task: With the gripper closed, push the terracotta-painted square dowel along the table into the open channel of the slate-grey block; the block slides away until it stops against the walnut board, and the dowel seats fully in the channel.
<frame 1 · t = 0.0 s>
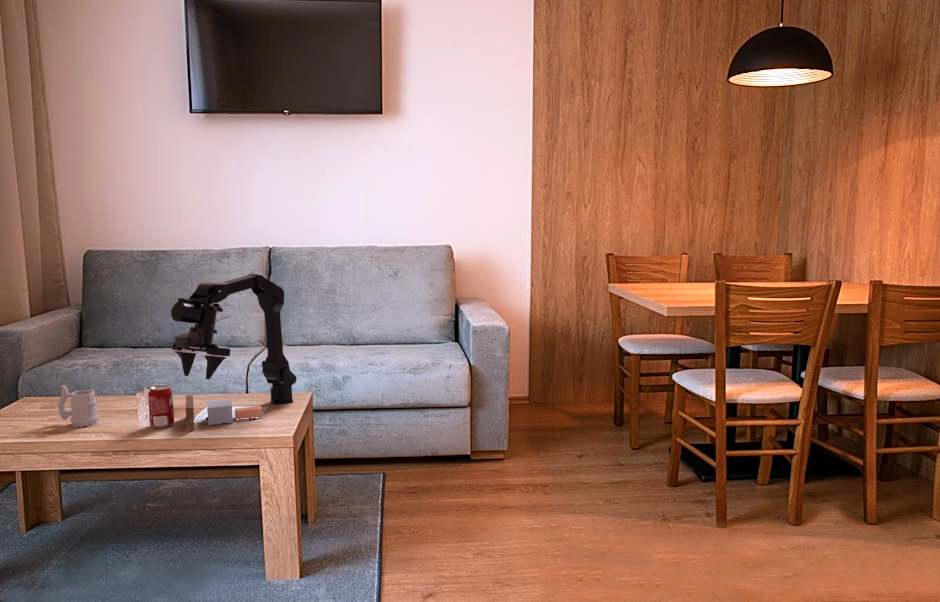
hand: (196, 377, 213), 15 cm above the table, tool pointing down, fingers open, 9 cm apart
soda can: (162, 426, 218), on the table
wall: (190, 423, 220), on the table
block: (219, 411, 223), point 3 cm above the table, slide at 0.0 cm
dowel: (248, 418, 226), on the table
mug: (78, 424, 221), on the table
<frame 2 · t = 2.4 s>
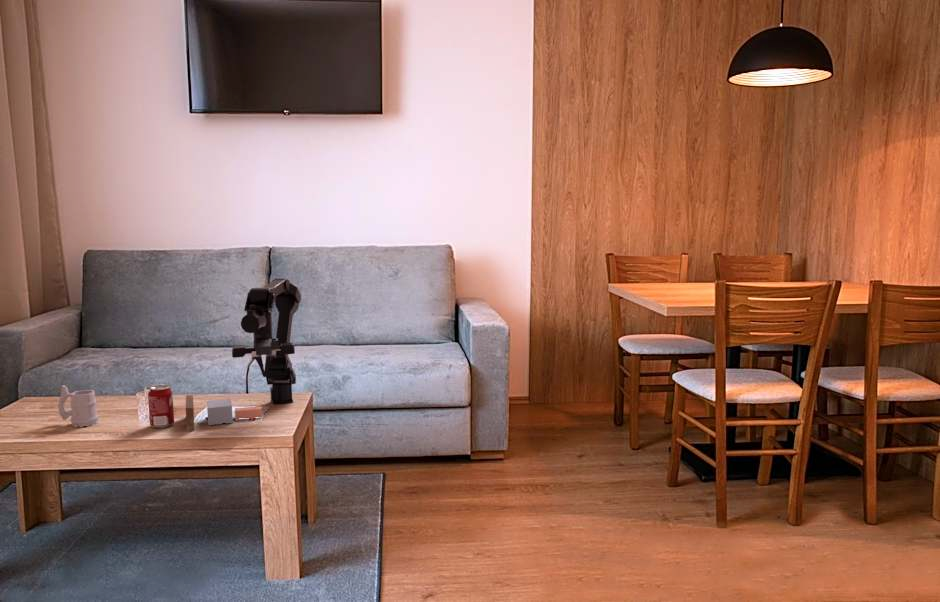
hand: (264, 376, 228), 12 cm above the table, tool pointing down, fingers closed
nothing on the table moved.
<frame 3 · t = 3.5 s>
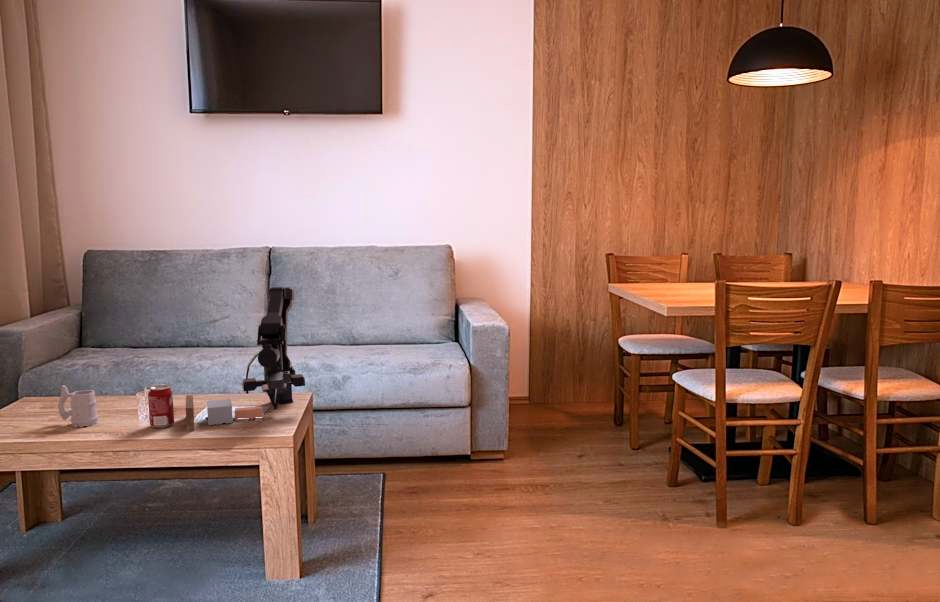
hand: (274, 409, 229), 2 cm above the table, tool pointing down, fingers closed
nothing on the table moved.
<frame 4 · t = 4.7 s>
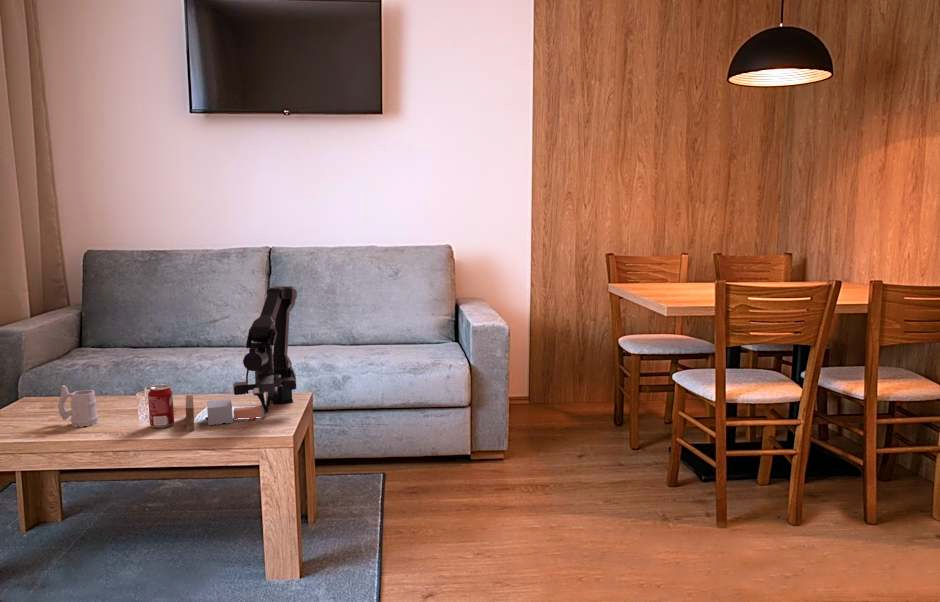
hand: (266, 412, 228), 1 cm above the table, tool pointing down, fingers closed
dowel: (247, 418, 226), on the table, touching gripper
everything else where it was.
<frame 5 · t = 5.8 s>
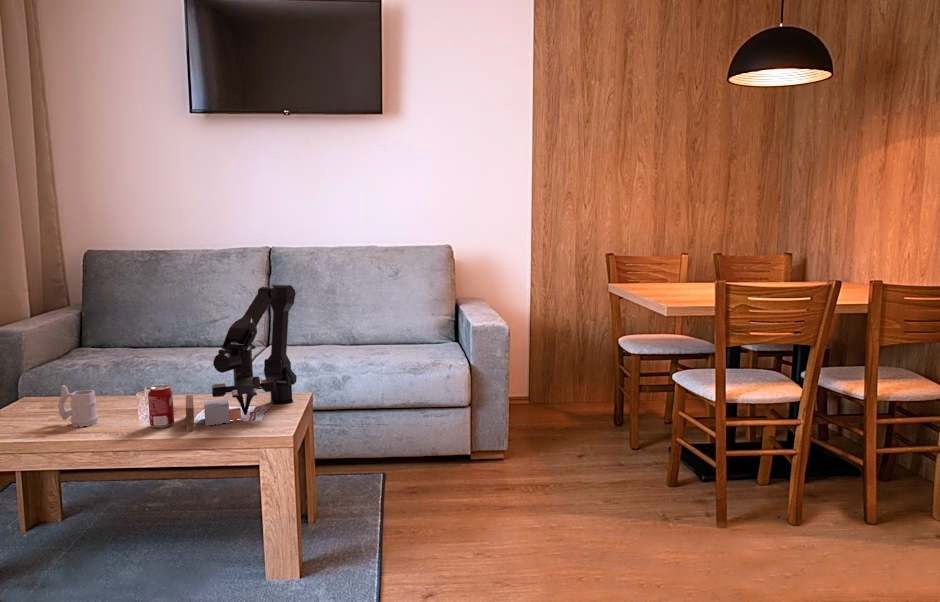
hand: (245, 414, 225), 1 cm above the table, tool pointing down, fingers closed
block: (216, 411, 222), point 3 cm above the table, slide at 0.9 cm
dowel: (227, 420, 223), on the table, touching gripper
everything else where it was.
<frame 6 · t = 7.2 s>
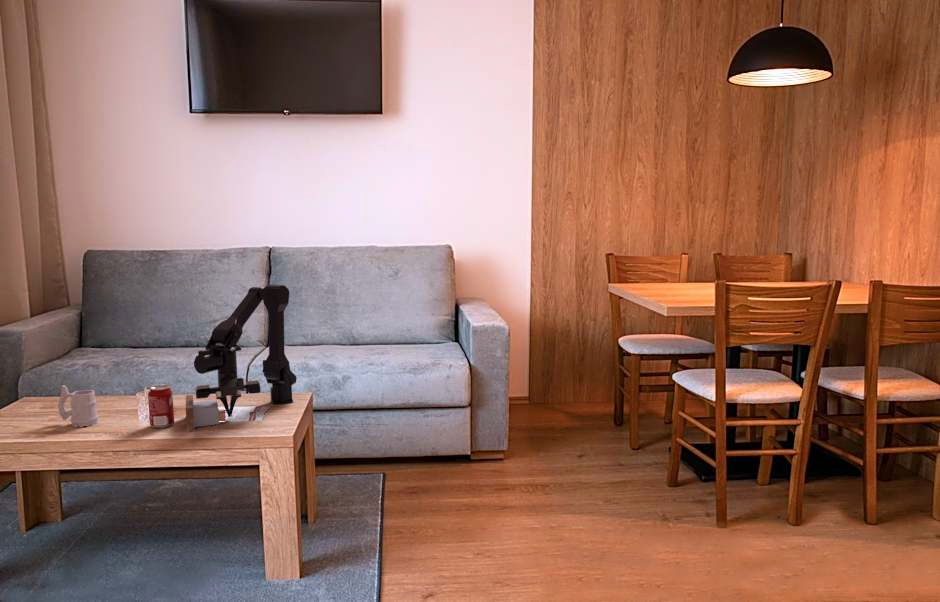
hand: (229, 416, 224), 1 cm above the table, tool pointing down, fingers closed
block: (205, 413, 221), point 3 cm above the table, slide at 4.0 cm
dowel: (211, 422, 222), on the table, touching gripper
everything else where it was.
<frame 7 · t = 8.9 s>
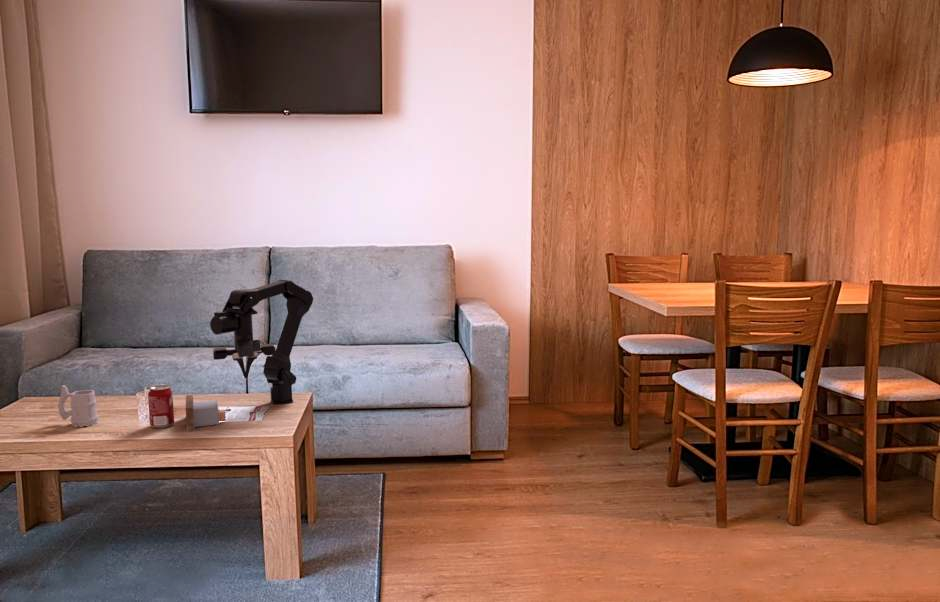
hand: (245, 377, 231), 11 cm above the table, tool pointing down, fingers closed
block: (205, 413, 221), point 3 cm above the table, slide at 4.0 cm, touching dowel, wall
dowel: (211, 422, 222), on the table, touching block
everything else where it was.
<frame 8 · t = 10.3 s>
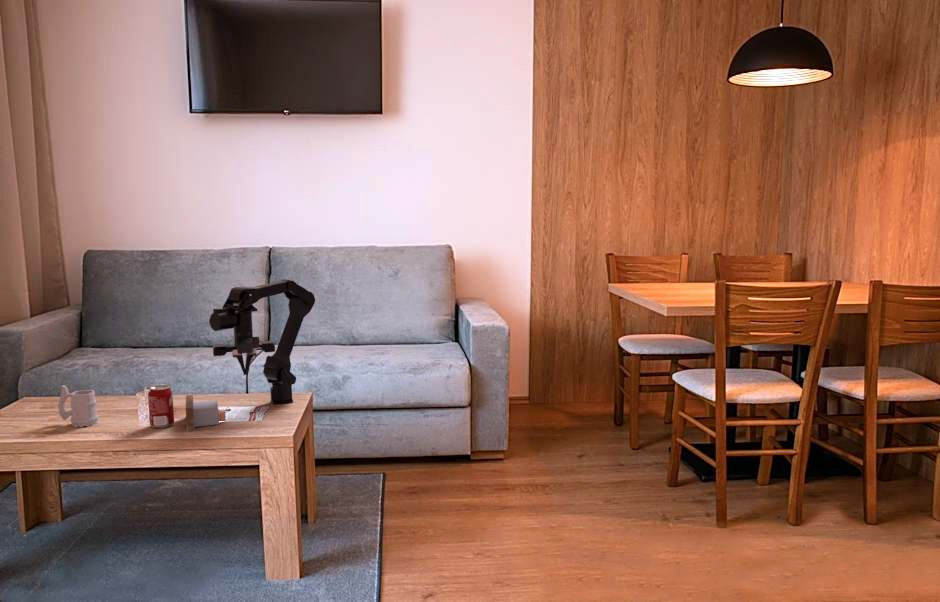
hand: (245, 374, 232), 12 cm above the table, tool pointing down, fingers closed
block: (205, 413, 221), point 3 cm above the table, slide at 4.0 cm, touching wall
dowel: (211, 422, 222), on the table
everything else where it was.
at the end: block slide at 4.0 cm; dowel 0.6 cm from the target spot on the block, point 0.0 cm above the block's base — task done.
